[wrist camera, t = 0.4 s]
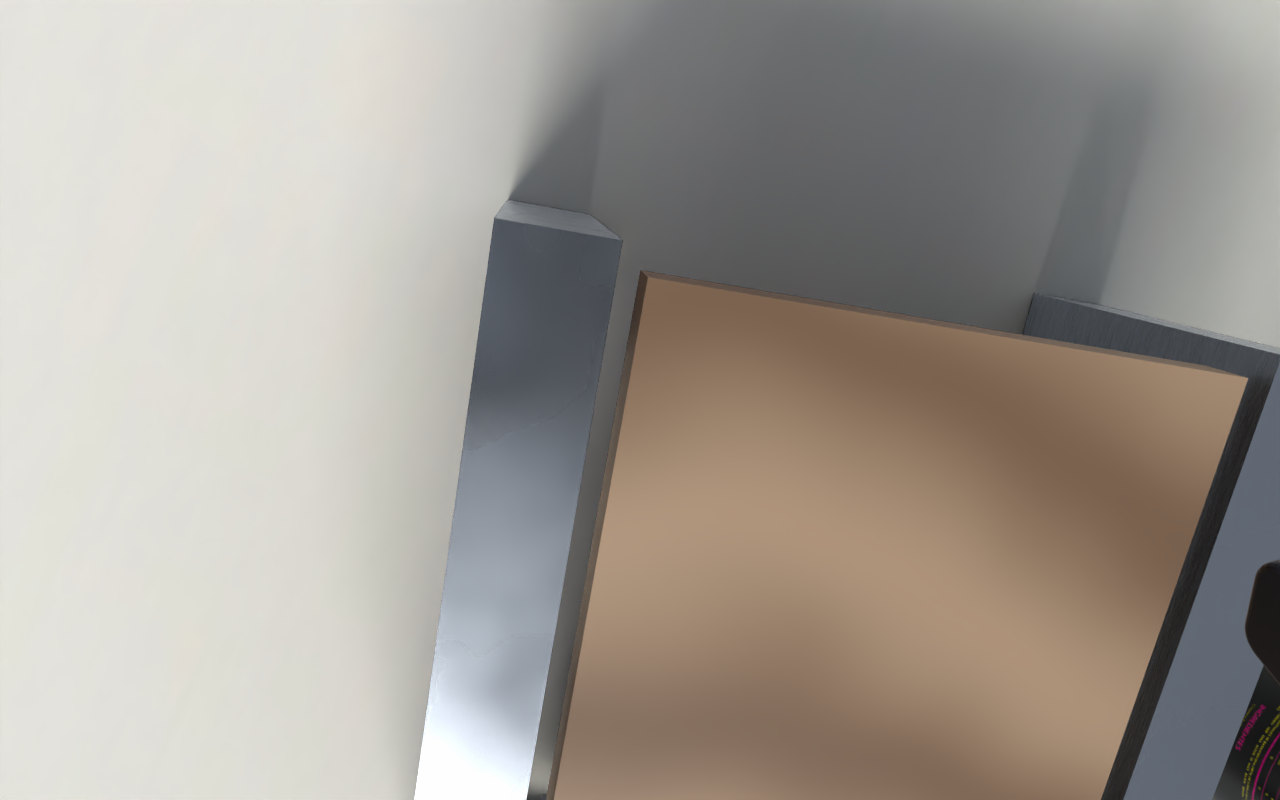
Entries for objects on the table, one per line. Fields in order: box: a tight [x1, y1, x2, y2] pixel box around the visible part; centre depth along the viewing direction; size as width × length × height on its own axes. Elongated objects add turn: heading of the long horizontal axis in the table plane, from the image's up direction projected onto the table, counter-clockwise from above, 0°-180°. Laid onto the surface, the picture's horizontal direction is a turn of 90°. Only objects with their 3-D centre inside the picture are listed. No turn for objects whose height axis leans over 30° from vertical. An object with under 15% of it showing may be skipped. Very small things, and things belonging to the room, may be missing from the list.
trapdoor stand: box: [414, 200, 1280, 800], centre depth 21 cm, size 20×16×8 cm
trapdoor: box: [541, 270, 1248, 800], centre depth 19 cm, size 18×11×6 cm, turn 170°
